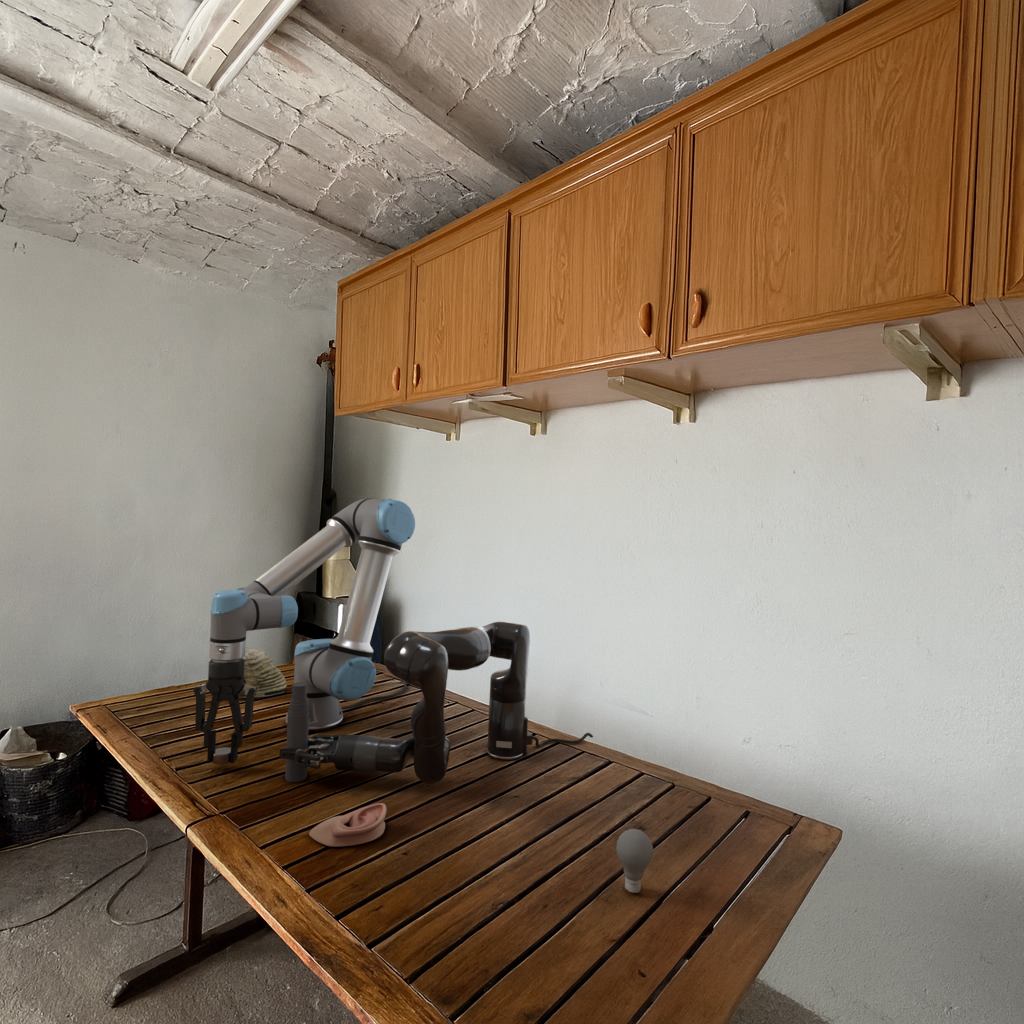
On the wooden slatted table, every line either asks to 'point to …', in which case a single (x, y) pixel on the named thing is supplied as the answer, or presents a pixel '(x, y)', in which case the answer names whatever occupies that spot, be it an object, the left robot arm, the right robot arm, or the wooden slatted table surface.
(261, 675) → the fossil
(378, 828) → the anatomical model
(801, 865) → the wooden slatted table surface
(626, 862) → the light bulb
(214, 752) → the cap
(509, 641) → the right robot arm
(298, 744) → the bottle
